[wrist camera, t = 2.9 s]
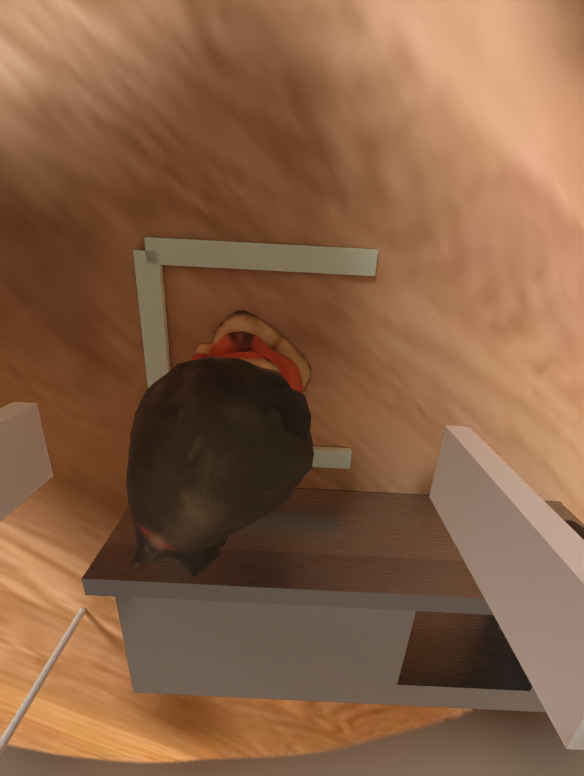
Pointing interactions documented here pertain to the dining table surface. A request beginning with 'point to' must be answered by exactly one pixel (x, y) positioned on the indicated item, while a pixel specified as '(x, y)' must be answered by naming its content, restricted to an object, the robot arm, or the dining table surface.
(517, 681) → the grey box with compartment
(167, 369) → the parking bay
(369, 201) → the dining table surface
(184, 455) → the figurine
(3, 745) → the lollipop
